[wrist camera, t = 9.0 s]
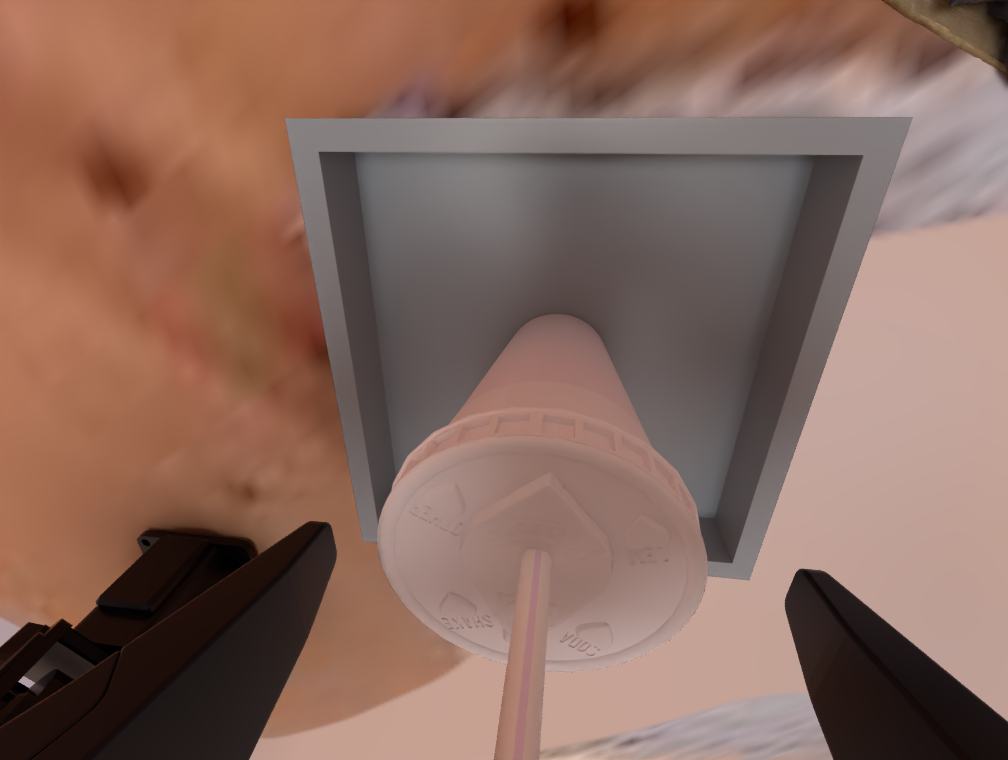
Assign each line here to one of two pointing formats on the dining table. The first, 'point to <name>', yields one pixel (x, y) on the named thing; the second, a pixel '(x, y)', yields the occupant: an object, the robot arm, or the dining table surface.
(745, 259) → the gray square tray
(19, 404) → the dining table surface
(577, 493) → the smoothie
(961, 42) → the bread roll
